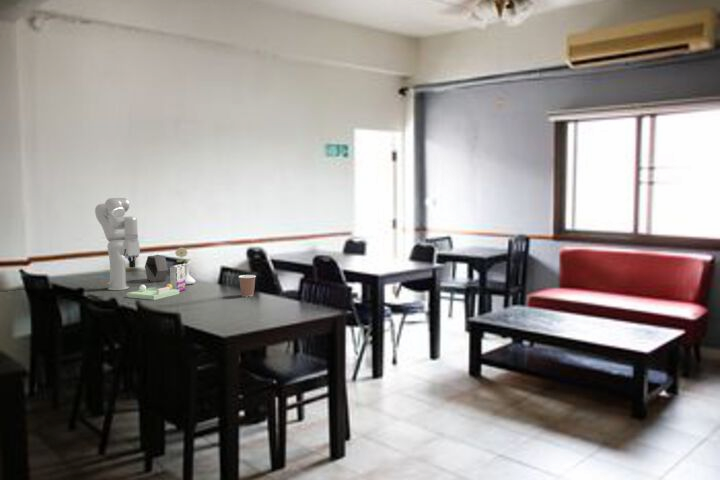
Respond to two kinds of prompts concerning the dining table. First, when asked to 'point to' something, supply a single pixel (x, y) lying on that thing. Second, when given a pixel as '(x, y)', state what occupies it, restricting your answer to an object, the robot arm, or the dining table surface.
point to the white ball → (142, 287)
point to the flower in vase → (182, 253)
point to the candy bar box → (178, 277)
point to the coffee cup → (247, 285)
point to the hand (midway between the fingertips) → (132, 267)
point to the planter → (156, 268)
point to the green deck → (153, 293)
